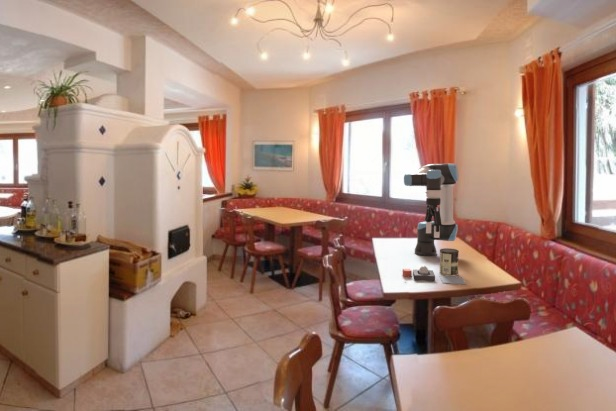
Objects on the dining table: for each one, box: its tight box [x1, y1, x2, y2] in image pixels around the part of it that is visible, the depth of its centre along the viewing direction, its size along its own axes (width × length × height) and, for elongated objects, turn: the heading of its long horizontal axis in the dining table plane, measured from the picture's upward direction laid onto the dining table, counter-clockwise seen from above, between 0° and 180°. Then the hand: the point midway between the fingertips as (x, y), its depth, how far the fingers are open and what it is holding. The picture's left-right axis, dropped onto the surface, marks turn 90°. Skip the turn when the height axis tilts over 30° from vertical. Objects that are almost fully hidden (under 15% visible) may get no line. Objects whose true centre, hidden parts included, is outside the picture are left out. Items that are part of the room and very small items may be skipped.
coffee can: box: [439, 247, 460, 277], centre depth 208 cm, size 10×10×14 cm
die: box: [402, 268, 413, 279], centre depth 205 cm, size 4×4×4 cm
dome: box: [418, 265, 430, 275], centre depth 201 cm, size 5×5×5 cm
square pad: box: [438, 275, 467, 285], centre depth 196 cm, size 12×12×1 cm
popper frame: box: [412, 269, 436, 282], centre depth 201 cm, size 11×11×3 cm
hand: (432, 235), depth 199 cm, fingers open, 13 cm apart
